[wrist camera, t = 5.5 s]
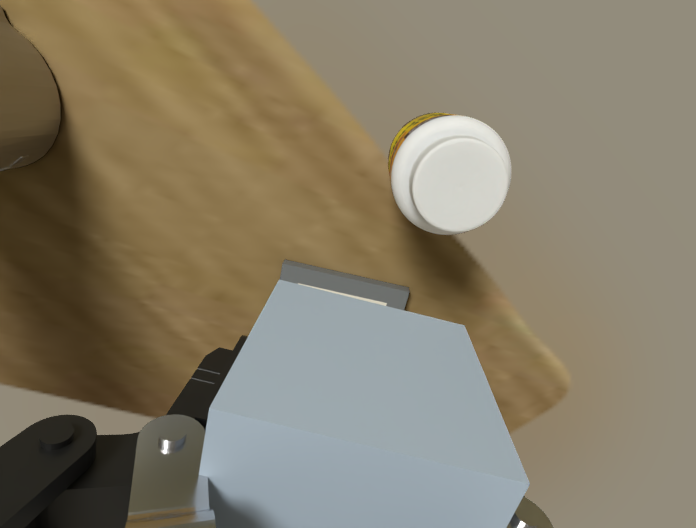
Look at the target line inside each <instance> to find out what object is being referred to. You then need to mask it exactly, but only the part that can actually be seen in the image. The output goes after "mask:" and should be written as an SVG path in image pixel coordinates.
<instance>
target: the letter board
mask: <svg viewBox="0 0 696 528" xmlns="http://www.w3.org/2000/svg"><path fill="white" fill-rule="evenodd" d="M280 280H283V281H287V282H291V283H295V284H299V285H303V286H308V287H312V288H316V289H320V290H324V291H328V292H332V293H336V294H340V295H344V296H348V297H352V298H356V299H360V300H364V301H368V302H372V303H376V304H380V305H384V306H388V307H392V308H396V309H400V310H404V309H405V305H406V302H407V299H408V295H409V287H405V286H400V285H396V284H391V283H387V282H382V281H378V280H373V279H369V278H365V277H360V276H356V275H351V274H347V273H342V272H338V271H334V270H329V269H325V268H320V267H316V266H311V265H307V264H302V263H298V262H294V261H289V260H284V262H283V265H282V270H281V276H280Z"/></svg>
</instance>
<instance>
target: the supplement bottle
mask: <svg viewBox="0 0 696 528" xmlns="http://www.w3.org/2000/svg"><path fill="white" fill-rule="evenodd" d="M388 169H389V174H390V180H391V187H392V191H393V195H394V198H395V201H396V203H397V205H398V207H399V209H400V210H401V212H402V213H403V214H404V216H405V217H406V218H407V219H408V220H409V221H410V222H412V223H413V224H414V225H416V226H417V227H419V228H421V229H423V230H425V231H428V232H431V233H435V234H441V235H453V234H460V233H464V232H467V231H470V230H473V229H476V228H478V227H480V226H482V225H483V224H485V223H486V222H488V221H489V220H490V219H491V218H492V217H494V215H495V214H496V213H497V212H498V210H499V209H500V208H501V206H502V204H503V202H504V200H505V197H506V195H507V193H508V190H509V186H510V181H511V161H510V156H509V153H508V150H507V148H506V146H505V144H504V142H503V141H502V139H501V138H500V136H499V135H498V134H497V133H496V132H495V131H494V130H493V129H492V128H491V127H489V126H488V125H486V124H485V123H483V122H481V121H479V120H477V119H473V118H471V117H467V116H460V115H454V114H445V113H428V114H424V115H421V116H418V117H416V118H414V119H412V120H411V121H409V122H408V123H406V124H405V125H404V126H403V127H402V128H401V129H400V130H399V132H398V133H397V135H396V136H395V138H394V139H393V142H392V144H391V147H390V150H389V157H388Z"/></svg>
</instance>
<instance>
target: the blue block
mask: <svg viewBox="0 0 696 528" xmlns="http://www.w3.org/2000/svg"><path fill="white" fill-rule="evenodd" d="M199 475H202V476H207V477H208V493H209V508H210V509H213V510H214V514H215V523H216V528H507V526H508V524H509V522H510V520H511V518H512V516H513V515H514V513H515V511H516V509H517V507H518V505H519V503H520V502H521V500H522V498H523V496H524V494H525V492H526V491H527V489H528V487H529V485H530V484H529V481H528V479H527V476H526V473H525V471H524V469H523V466H522V464H521V461H520V459H519V457H518V454H517V452H516V449H515V447H514V444H513V443H512V440H511V437H510V435H509V432H508V430H507V428H506V425H505V423H504V420H503V418H502V415H501V413H500V411H499V408H498V406H497V403H496V401H495V398H494V396H493V394H492V391H491V389H490V386H489V384H488V382H487V379H486V377H485V374H484V372H483V369H482V367H481V365H480V362H479V360H478V357H477V355H476V352H475V350H474V348H473V345H472V343H471V340H470V338H469V336H468V333H467V331H466V328H465V326H464V325H460V324H456V323H452V322H448V321H444V320H440V319H436V318H432V317H428V316H424V315H420V314H416V313H412V312H408V311H404V310H400V309H396V308H392V307H388V306H384V305H380V304H376V303H372V302H368V301H364V300H360V299H356V298H352V297H348V296H344V295H340V294H336V293H332V292H328V291H324V290H320V289H316V288H312V287H308V286H303V285H299V284H295V283H291V282H287V281H283V280H279V281H278V283H277V284H276V286H275V288H274V290H273V292H272V294H271V295H270V297H269V299H268V301H267V303H266V305H265V306H264V308H263V310H262V312H261V314H260V316H259V317H258V319H257V321H256V323H255V325H254V327H253V329H252V330H251V332H250V334H249V336H248V338H247V340H246V341H245V343H244V345H243V347H242V349H241V351H240V352H239V354H238V356H237V358H236V360H235V362H234V363H233V365H232V367H231V369H230V371H229V373H228V374H227V376H226V378H225V380H224V382H223V384H222V385H221V387H220V389H219V391H218V393H217V395H216V397H215V398H214V400H213V402H212V404H211V406H210V408H209V413H208V419H207V425H206V432H205V438H204V444H203V451H202V457H201V463H200V470H199Z"/></svg>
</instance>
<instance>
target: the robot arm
mask: <svg viewBox="0 0 696 528" xmlns="http://www.w3.org/2000/svg"><path fill="white" fill-rule="evenodd" d="M60 120H61V110H60V99H59V95H58V90H57V86H56V84H55V81H54V79H53V76H52V74H51V71H50V69H49V68H48V66H47V64H46V63H45V61H44V59H43V58H42V56H41V55H40V53H39V52H38V51H37V50H36V49H35V48H34V46H33V45H32V44H31V43H30V42H29V41H28V40H27V39H26V38H25V37H24V36H23V35H21V34H20V33H19V32H18V31H17V30H16V29H14V28H13V27H12V26H11V25H10V24H9V22H8V20H7V19H6V17H5V14H4V12H3V9H2V7H1V6H0V171H3V170H7V169H12V168H17V167H22V166H25V165H28V164H31V163H34V162H35V161H37V160H38V159H40V158H41V157H43V156H44V155H45V154H46V153H47V151H48V150H49V149H50V148H51V147H52V145H53V143H54V141H55V139H56V137H57V134H58V130H59V125H60ZM247 338H248V337H247V336H243V335H242V336H241V337H240V339H239V341H238V343H237V344H236V346H235V348H234V350H233V351H232V350H228V349H223V348H218V349H216V350H215V351H213V352H211V353H210V354H208V355H206V356H205V358H204V359H203V361H202V362H201V364H200V365H199V367H198V369H197V370H196V371H195V373H194V374H193V376H192V378H191V379H190V380H189V382H188V383H187V385H186V386H185V387H184V389H183V390H182V392H181V393H180V395H179V396H178V398H177V399H176V401H175V402H174V404H173V405H172V407H171V408H170V410H169V411H168V413H167V414H166V416H161V417H159V418H156V419H154V420H152V421H150V422H149V423H148V424H146V425H145V426H144V427H143V429H142V430H141V431H140V432H138V433H133V434H124V435H97V432H96V428H95V426H94V424H93V423H92V422H91V421H89V420H88V419H86V418H84V417H80V416H76V415H59V416H54V417H49V418H46V419H43V420H41V421H39V422H36V423H34V424H33V425H31V426H29V427H28V428H26V429H25V430H24V431H22V432H21V433H20V434H18V435H17V436H15V437H14V438H12V439H11V440H9V441H8V442H6V443H5V444H4V445H2V446H1V447H0V528H216V523H215V514H214V510H213V509H210V508H209V493H208V477H207V476H202V475H199V470H200V463H201V457H202V451H203V444H204V438H205V432H206V425H207V419H208V413H209V408H210V406H211V404H212V402H213V400H214V398H215V397H216V395H217V393H218V391H219V389H220V387H221V385H222V384H223V382H224V380H225V378H226V376H227V374H228V373H229V371H230V369H231V367H232V365H233V363H234V362H235V360H236V358H237V356H238V354H239V352H240V351H241V349H242V347H243V345H244V343H245V341H246V340H247ZM507 528H553V526H552V524H551V522H550V520H549V518H548V517H547V516H546V514H545V513H544V512H543V511H542V510H541V509H540V508H539V507H538V506H537V505H536V504H534V503H533V502H532V501H530V500H529V499H527V498H525V496H523V498H522V500H521V502H520V503H519V505H518V507H517V509H516V511H515V513H514V515H513V516H512V518H511V520H510V522H509V524H508V526H507Z"/></svg>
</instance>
